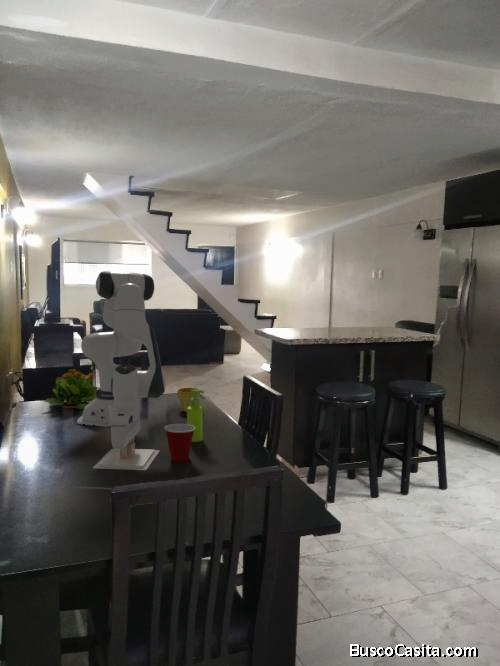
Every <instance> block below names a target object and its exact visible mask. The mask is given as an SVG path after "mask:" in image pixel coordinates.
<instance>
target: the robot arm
mask: <svg viewBox="0 0 500 666" xmlns="http://www.w3.org/2000/svg"><path fill="white" fill-rule="evenodd" d="M154 282H155V281H154V278H153V277H152V276H151V275H148V274H146V273H142V274H141V273H137V272H134V271H133V272H132V271H110V270H104V271H100V272H99V274H98V276H97V277H96V280H95V289H96V293H97V295H98V296H99V297H101V298H103V299H104V306H103V311H102V321H103V322H104V324H105V325H107V327H110V329H113V330H112V331H103V332H102V331H100V332H99V331H98V332H93V333H89V334H87V335H85V336H84V337H83V339H81V340H82V341H81V344H80V347H81V351H82V353H83V355H84V356H85V358H87V359H89V360H91V361H92V362H93V363H94V364H95V366H96V368H97V370H98V375H99V376H98V377H99V388H98V390H97V391H96V392H95V395H96V396H97V397H96V398H95V399H94V400H92V401H89V404H88V405H86V406H85V407H84V408H83V409H82V410H83V411H82V415H81V416H80V417H78V418H77V420H76V423H77V425H83V424H85V425H86V426H93V425H95V427H105V428H108V427H109V428H110V438H111V439H110V440H111V446H112V449H114V448H115V449H121V451H122V455H123V456H126V455H127V454H128V449H127V444H128V443H129V442H134V441H135V437H136V435H137V434H138V433H139V432H140V431H141V407H140V405H141V404H140V400H139V398H140V399H141V398H147V399H158V398H160V397H161V396H162V395H164V394H165V392H166V385H167V383H166V378H165V375H164V372H163V369H162V363H161V357H160V352H159V351H160V350H159V347H158V342H157V341H158V340H157V337H156V333H155V329H154V328H153V327H152V326H151V325H149V324H148V322H147V319H146V305H145V301H149V300H150V299H152V297H153V295H154V293H155V288H156V287H155V283H154ZM142 345H144V346H145V348H146V351H147V356H148V362H149V369H147V370H138V369H137V366H134V365H132V364H122V365H119V364H116V363H115V362H114V358H116V357H117V358H118V357H126V356H127V357H128V356H131V355H132V356H133V355H134V354H138V353H139V352H140V350H141V348H142Z"/></svg>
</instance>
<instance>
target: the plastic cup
mask: <svg viewBox="0 0 500 666" xmlns="http://www.w3.org/2000/svg"><path fill="white" fill-rule="evenodd" d="M163 428H164V430H165V433H166V434H165V435H166V438H167V439H166V440H167V444H168V450H169V453H170V454H169V455H170V459H171V461H172V462H174V463H175V462H176V463H182V462H186V461H188V460H189V459H190V452H191V447H192V443H193V442H192V437H193V433H194V431H195V429H196V428H195V426H193V425H188V424H186V423H174V424H173V423H171V424H168V425H167V424H166V425H165V426H164V427H163Z"/></svg>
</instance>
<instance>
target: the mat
mask: <svg viewBox="0 0 500 666" xmlns="http://www.w3.org/2000/svg"><path fill="white" fill-rule="evenodd" d="M113 449H114V448H110V450H108V452H107V453H106V454H104V455H103V457H101V459H99V461H97V463H95V465H94V466H93V467H92V469H99V470H100V469H102V470H103V469H104V470H126V471H127V470H129V471H131V470H134V471H147V469H149V467H150V466H151V464H152V462H153V461H154V460H155V458H156V457H157V455H158V454H159V452H160V450H159V449H154V450H155V452H154V453H153V455H152V456H151V458H150V459H149V460H148V462H147V463H146V464H145V466H144V467H143V468H127V467H99V466H98V464H99V463H100V462H101V461H102V460H103V459H104V458H105V457H106V456H107V455H108V454H109V453H110V452H111V451H112V450H113Z"/></svg>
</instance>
